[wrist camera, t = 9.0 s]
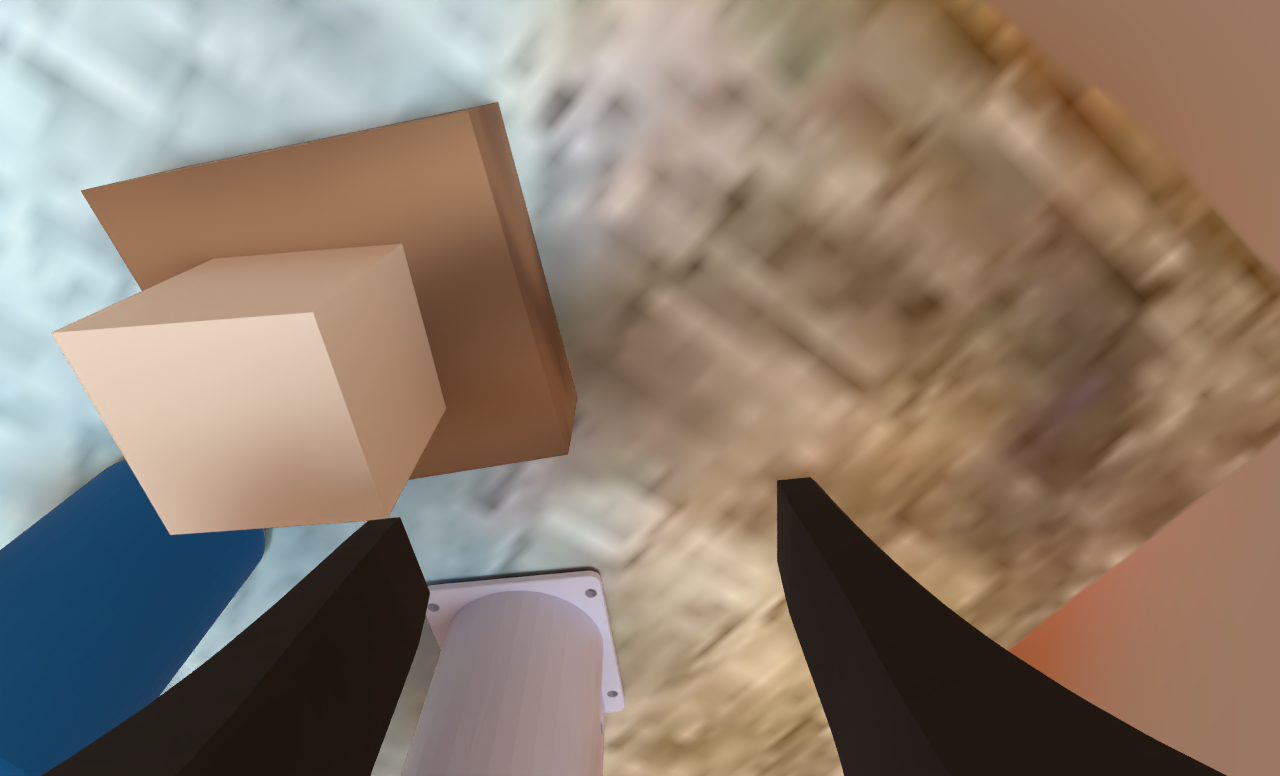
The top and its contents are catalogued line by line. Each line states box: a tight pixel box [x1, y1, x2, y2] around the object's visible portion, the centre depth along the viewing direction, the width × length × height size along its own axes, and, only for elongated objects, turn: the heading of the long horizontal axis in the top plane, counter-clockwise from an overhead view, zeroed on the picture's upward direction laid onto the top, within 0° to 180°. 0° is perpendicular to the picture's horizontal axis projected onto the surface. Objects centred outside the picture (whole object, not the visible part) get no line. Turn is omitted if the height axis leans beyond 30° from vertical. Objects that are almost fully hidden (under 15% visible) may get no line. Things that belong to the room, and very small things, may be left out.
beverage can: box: [0, 460, 266, 776], centre depth 19 cm, size 6×6×12 cm
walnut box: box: [81, 103, 577, 480], centre depth 18 cm, size 10×10×4 cm
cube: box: [51, 244, 446, 535], centre depth 15 cm, size 5×5×5 cm
